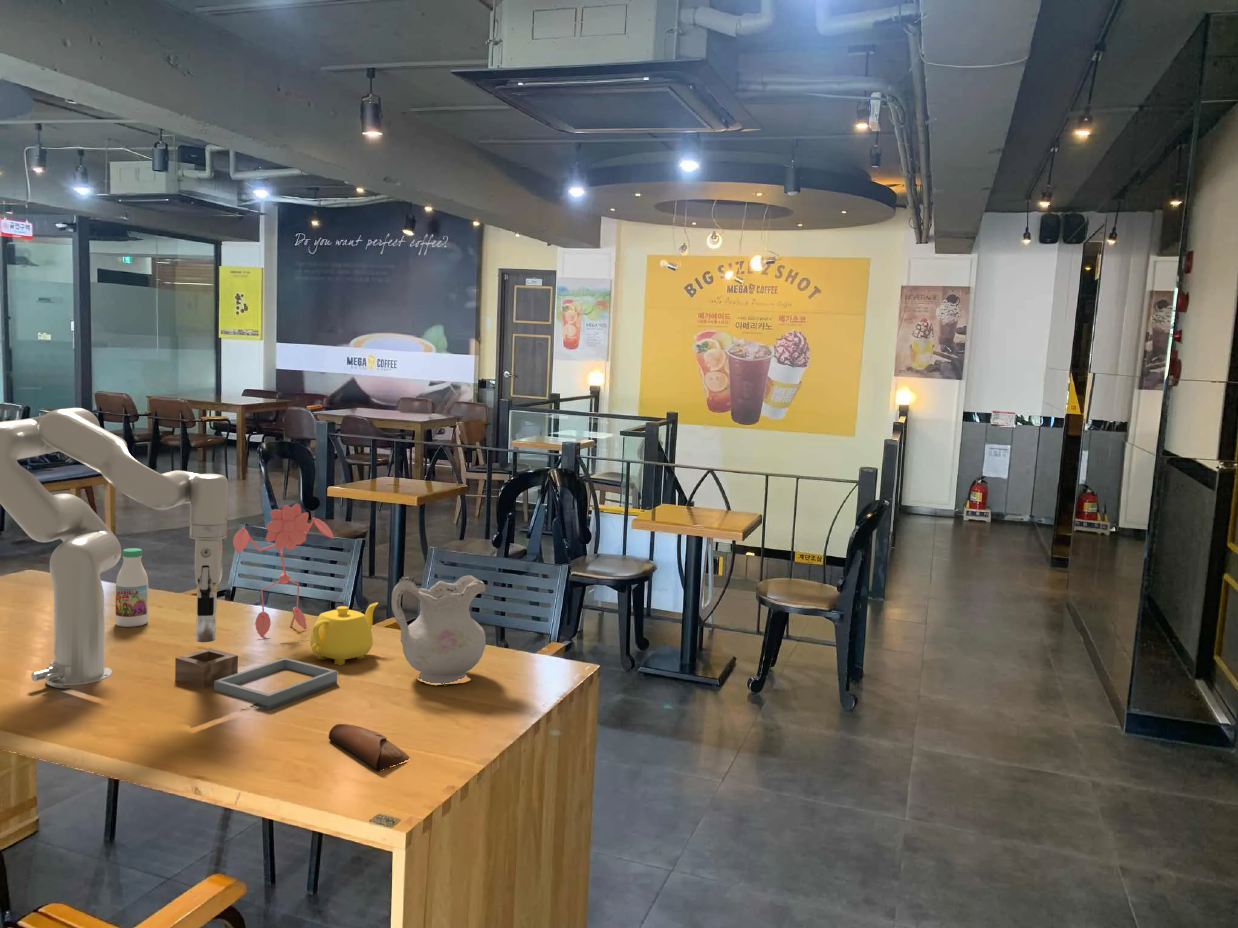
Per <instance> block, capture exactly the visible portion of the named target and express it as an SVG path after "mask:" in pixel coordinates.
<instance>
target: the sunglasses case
mask: <svg viewBox="0 0 1238 928" xmlns="http://www.w3.org/2000/svg"><path fill="white" fill-rule="evenodd" d="M328 739H329V741H331V742H332V743H334V744H335V745H338V746H341V748H344V749H345V750H347V751H349V752H350V753H352V754H353V755H355V756H357V758H360V760H362V761H364V762H365V763H367V764H368V765H369V766H371V767H372V768H373V769H376V770H377V771H378V772H381V771H380V770H383V769H386V768H389V767H390V766H393V765H397V764H399V763H401V762H404V761H405V760H408V759H409V757H410V756H409V755H408V754H407V753H406V751H404V750H402V749H401V748H400V747H398V746H397V745H396V744H394V743H393V742H391V741H389V740H387V739H388V738H387V737H386V736H384V735H383V734H381V733H379V732H377V731H375V730H370V729H367V728H365V727H362V726H359V725H358V726H357V725H354V724H353V725H352V724H346V723H337V724H335V725H334V726H332V727H331V729H330V731H329V733H328ZM389 769H390V768H389ZM386 770H387V769H386ZM383 771H384V770H383Z"/></svg>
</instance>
